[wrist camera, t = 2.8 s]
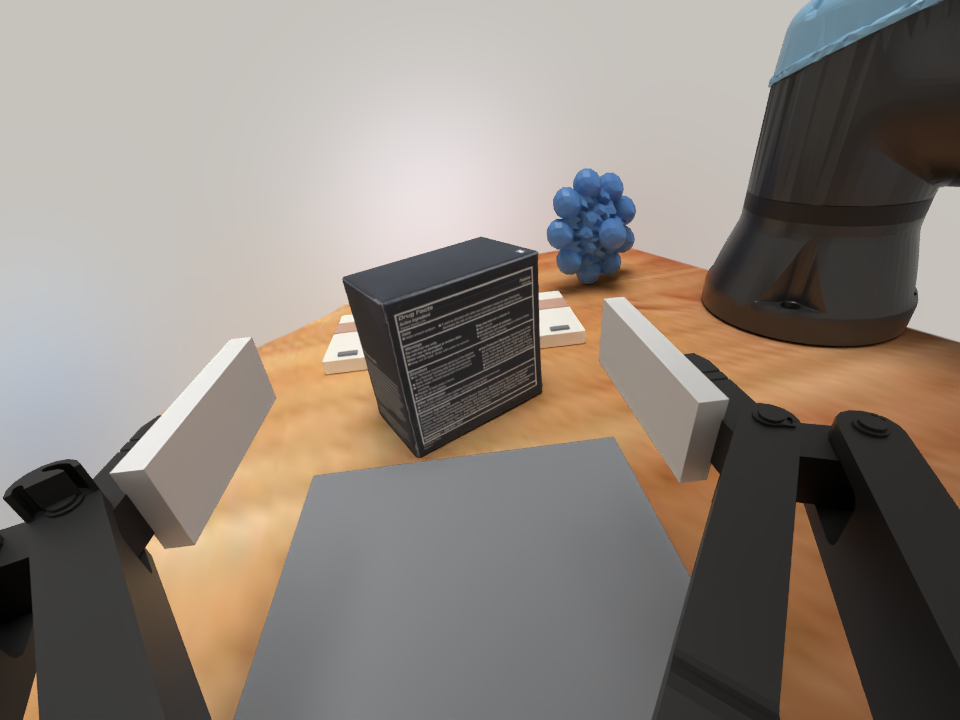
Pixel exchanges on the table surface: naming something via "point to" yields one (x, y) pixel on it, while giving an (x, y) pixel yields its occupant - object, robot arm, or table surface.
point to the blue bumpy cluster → (591, 225)
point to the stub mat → (473, 593)
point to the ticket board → (554, 326)
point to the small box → (449, 337)
